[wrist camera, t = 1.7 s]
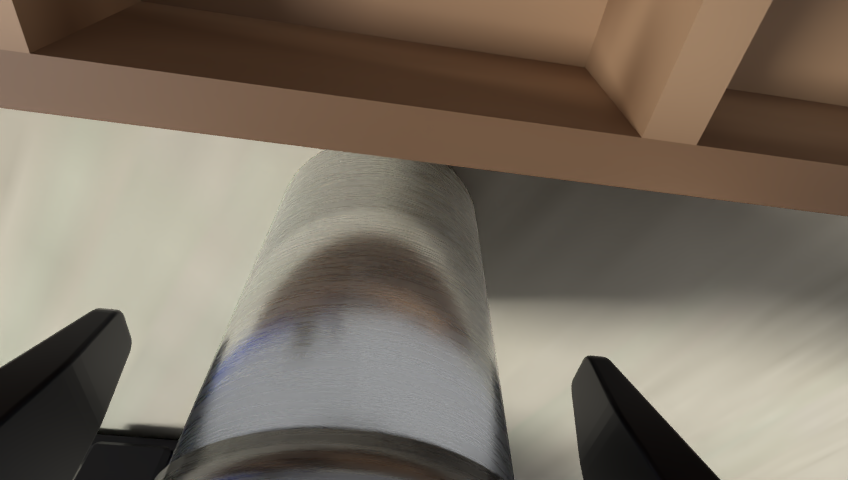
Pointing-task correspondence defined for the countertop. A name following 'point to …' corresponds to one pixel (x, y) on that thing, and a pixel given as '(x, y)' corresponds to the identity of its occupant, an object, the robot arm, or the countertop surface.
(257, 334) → the spice tin
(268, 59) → the compartment tray
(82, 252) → the countertop surface
